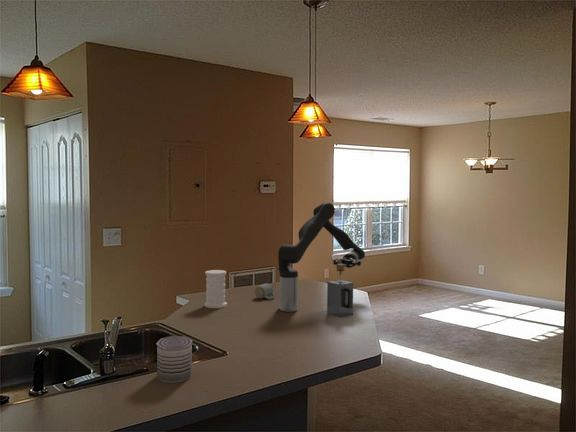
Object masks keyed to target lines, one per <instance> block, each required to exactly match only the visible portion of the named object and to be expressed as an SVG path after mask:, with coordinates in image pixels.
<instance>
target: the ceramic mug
mask: <svg viewBox="0 0 576 432" xmlns="http://www.w3.org/2000/svg"><path fill="white" fill-rule="evenodd" d="M273 292H274V289H273V286H272V285H271V284H270V283H267V282H266V283H262V284H261V285H258V286H257V287H255V289H254V295H255V297H256V298H257V299H260V300H261V299H267V300H270V299H272V300H274V299H275V293H273Z"/></svg>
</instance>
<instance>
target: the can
mask: <svg viewBox="0 0 576 432" xmlns="http://www.w3.org/2000/svg"><path fill="white" fill-rule="evenodd" d="M193 341H194V340H192V339H191V338H189V337H188V336H184V335H182V336H181V335H169V336H166V337H162V338H160V339H159V340H157V342H156V343H155V344H156V352H157V353H156V354H157V355H156V359H157V361H156V362H157V363H156V371H157V373H156V374H157V375H156V376H157V377H156V378H157V380H159V381H160V382H162V383H169V384H173V383H180V382H181V383H182V382H185V381H187V380H190V379H191V377H192V375H193V372H192V371H193V366H192V365H193V356H192V355H193V349H192V346H193V345H192V343H193Z"/></svg>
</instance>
